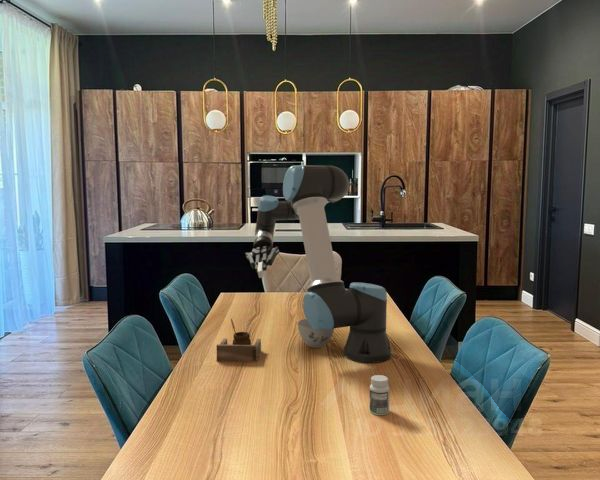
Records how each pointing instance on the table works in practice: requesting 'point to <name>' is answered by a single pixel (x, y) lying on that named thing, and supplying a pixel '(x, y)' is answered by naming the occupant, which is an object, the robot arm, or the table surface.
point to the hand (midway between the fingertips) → (260, 274)
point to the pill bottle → (379, 395)
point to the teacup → (314, 334)
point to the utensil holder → (241, 336)
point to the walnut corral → (238, 352)
